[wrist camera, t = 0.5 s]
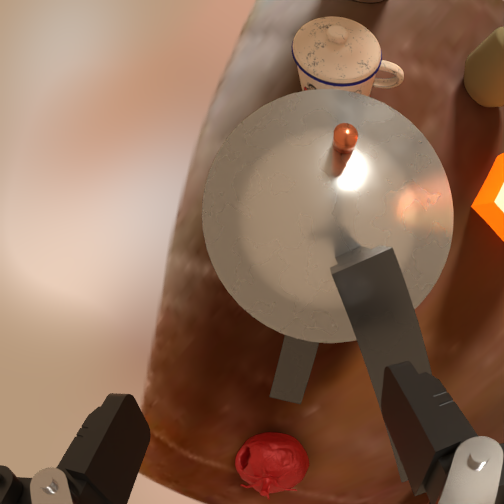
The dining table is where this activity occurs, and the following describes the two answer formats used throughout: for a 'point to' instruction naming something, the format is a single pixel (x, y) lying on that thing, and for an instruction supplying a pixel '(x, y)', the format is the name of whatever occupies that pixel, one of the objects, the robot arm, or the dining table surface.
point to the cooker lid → (331, 224)
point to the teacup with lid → (341, 57)
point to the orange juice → (493, 198)
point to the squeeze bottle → (487, 71)
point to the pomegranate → (272, 462)
